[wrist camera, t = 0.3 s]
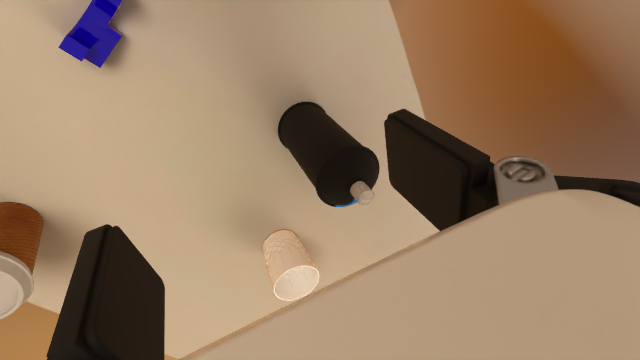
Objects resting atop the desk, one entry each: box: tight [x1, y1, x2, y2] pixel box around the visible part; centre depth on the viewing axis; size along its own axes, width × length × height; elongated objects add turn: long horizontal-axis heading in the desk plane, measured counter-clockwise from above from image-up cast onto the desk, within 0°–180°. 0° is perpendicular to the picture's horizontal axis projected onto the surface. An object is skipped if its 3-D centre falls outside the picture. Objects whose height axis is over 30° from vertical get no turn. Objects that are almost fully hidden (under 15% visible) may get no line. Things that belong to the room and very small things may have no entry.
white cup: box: [263, 230, 319, 301], centre depth 57 cm, size 8×8×10 cm
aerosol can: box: [278, 102, 379, 207], centre depth 42 cm, size 8×8×20 cm
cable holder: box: [59, 0, 125, 68], centre depth 33 cm, size 8×4×4 cm, turn 137°
